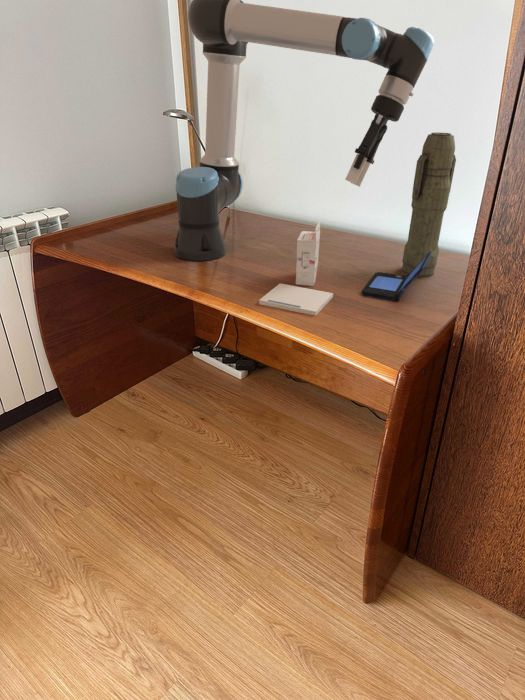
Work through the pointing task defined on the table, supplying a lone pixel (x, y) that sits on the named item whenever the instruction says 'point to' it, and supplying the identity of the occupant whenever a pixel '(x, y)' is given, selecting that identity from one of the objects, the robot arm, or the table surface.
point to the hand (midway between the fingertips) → (352, 183)
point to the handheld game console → (392, 283)
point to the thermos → (429, 202)
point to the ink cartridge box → (307, 257)
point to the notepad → (296, 299)
